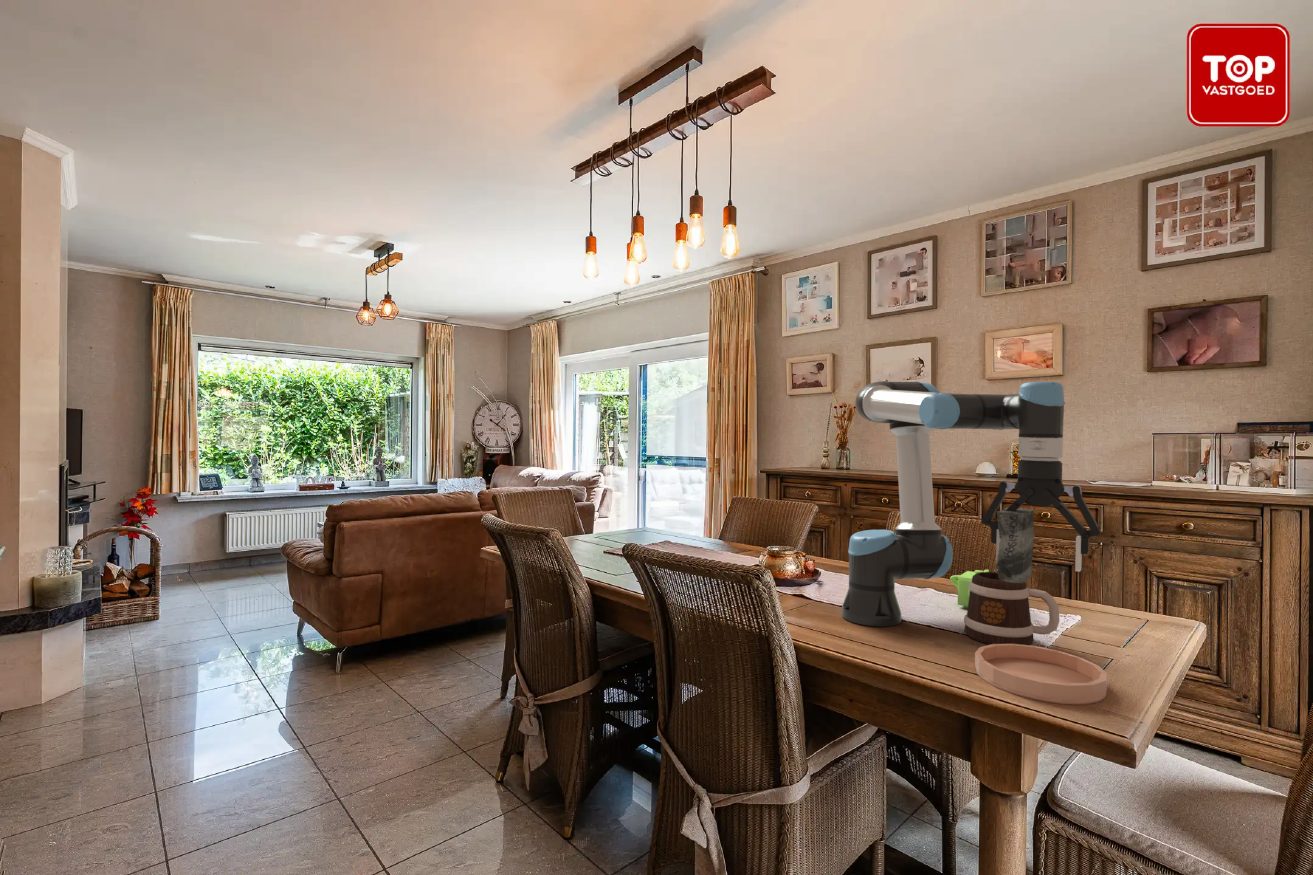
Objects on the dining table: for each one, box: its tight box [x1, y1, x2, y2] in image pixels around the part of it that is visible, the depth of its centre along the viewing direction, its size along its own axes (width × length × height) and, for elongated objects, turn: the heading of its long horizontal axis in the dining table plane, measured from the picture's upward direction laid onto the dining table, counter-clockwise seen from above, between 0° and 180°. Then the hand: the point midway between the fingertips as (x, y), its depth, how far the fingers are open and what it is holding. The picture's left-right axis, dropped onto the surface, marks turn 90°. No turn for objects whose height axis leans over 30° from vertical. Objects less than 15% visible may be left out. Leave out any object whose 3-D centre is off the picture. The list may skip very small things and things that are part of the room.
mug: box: [963, 571, 1060, 646], centre depth 145 cm, size 20×15×15 cm
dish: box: [974, 644, 1108, 706], centre depth 121 cm, size 22×22×4 cm
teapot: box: [949, 569, 990, 609], centre depth 173 cm, size 15×13×11 cm
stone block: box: [995, 506, 1036, 583], centre depth 123 cm, size 9×14×5 cm
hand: (1037, 565), depth 121 cm, fingers open, 13 cm apart
